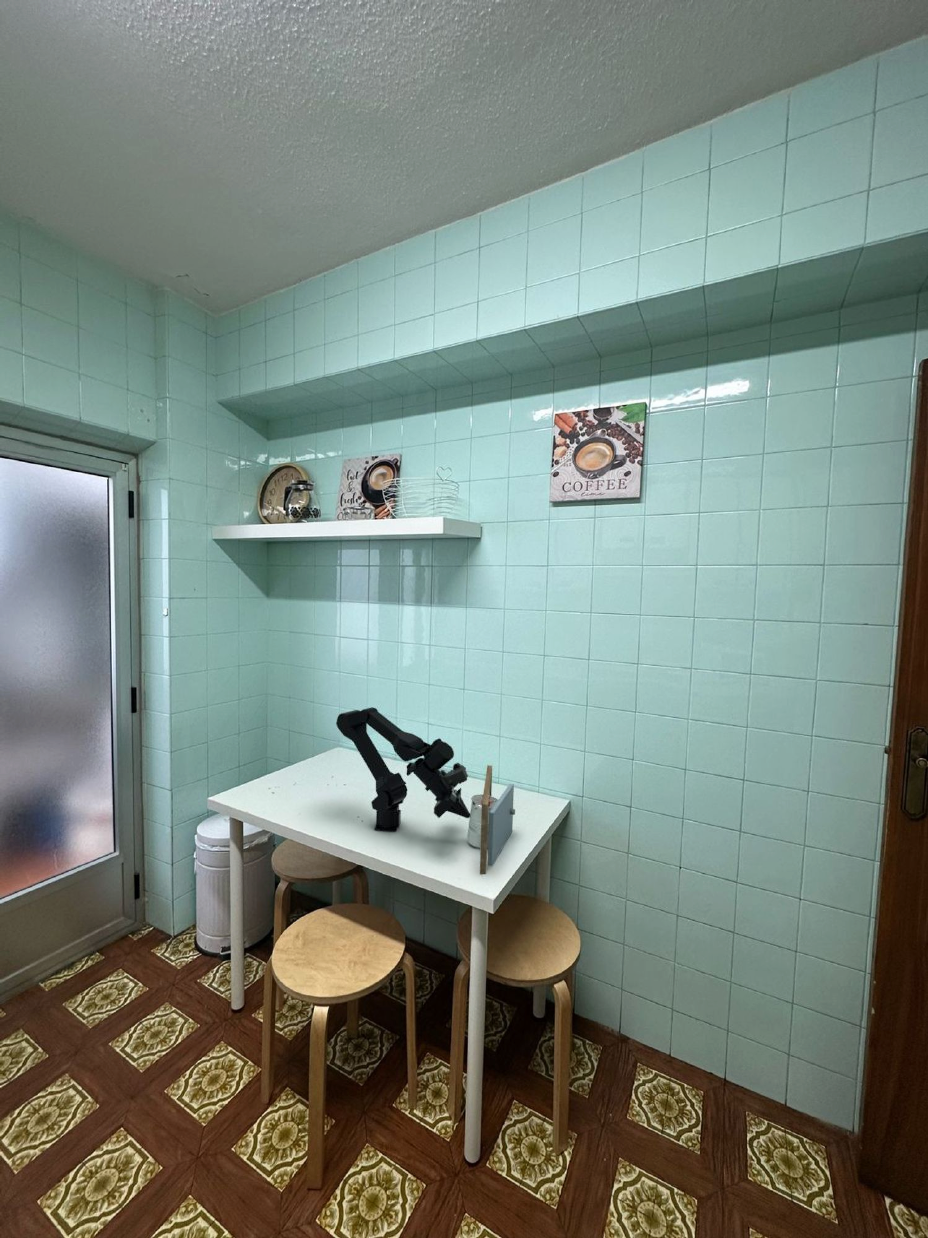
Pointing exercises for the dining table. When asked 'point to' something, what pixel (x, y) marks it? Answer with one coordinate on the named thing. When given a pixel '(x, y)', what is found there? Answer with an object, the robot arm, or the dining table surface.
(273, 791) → the dining table surface
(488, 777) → the door frame
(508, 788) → the door
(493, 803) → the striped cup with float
